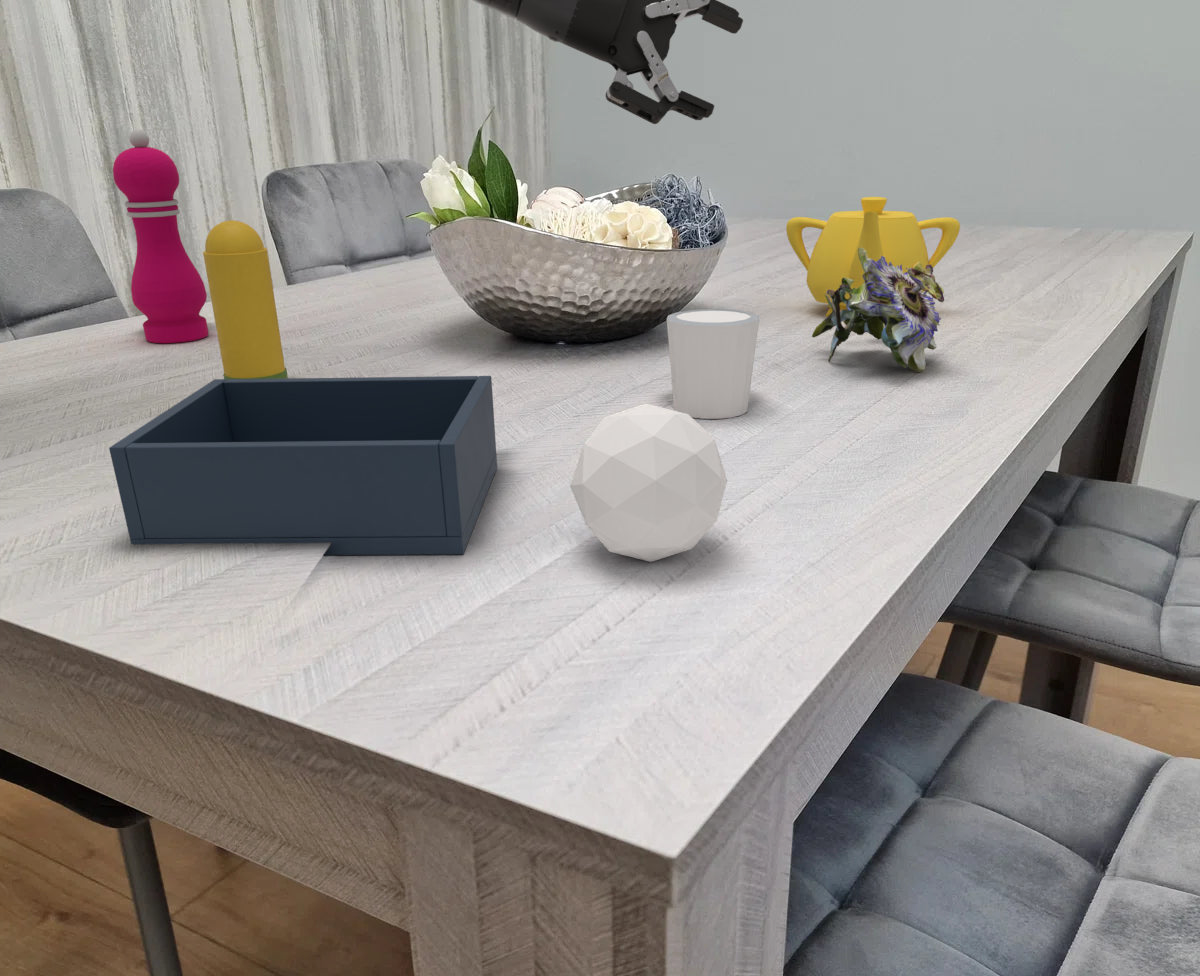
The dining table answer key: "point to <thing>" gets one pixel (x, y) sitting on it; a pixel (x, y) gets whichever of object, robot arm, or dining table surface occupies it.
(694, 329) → the shot glass
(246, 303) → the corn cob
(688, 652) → the dining table surface
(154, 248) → the pepper mill
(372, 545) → the dark blue open box
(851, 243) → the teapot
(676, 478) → the geometric ball
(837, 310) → the passion flower
